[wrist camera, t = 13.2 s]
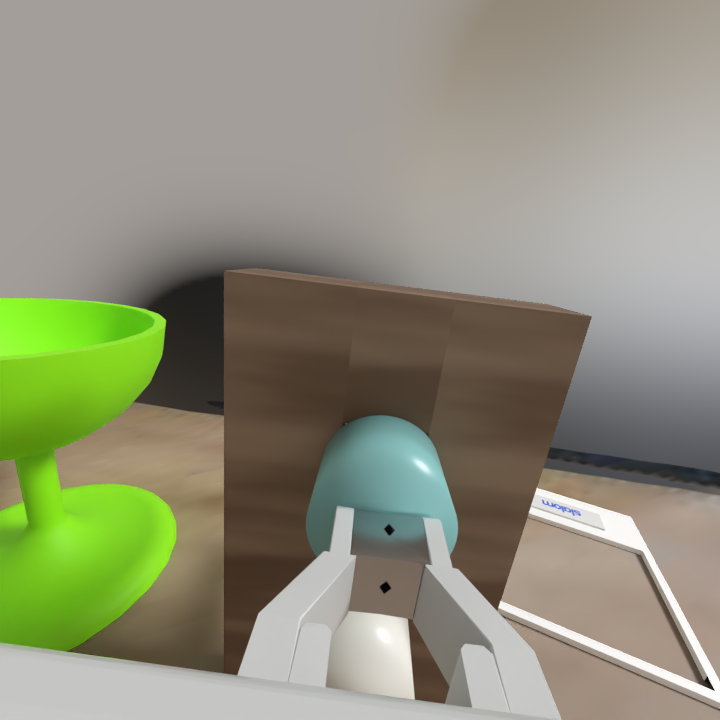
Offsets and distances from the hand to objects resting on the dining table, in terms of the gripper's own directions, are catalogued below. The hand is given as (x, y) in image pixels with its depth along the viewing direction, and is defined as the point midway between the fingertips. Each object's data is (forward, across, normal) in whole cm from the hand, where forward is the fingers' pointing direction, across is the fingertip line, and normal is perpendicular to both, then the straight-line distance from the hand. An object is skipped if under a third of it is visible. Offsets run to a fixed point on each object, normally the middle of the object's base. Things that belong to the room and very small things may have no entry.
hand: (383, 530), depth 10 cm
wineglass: (+11, +22, +17) cm, 30 cm away
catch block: (+5, 0, +16) cm, 17 cm away
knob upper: (+6, 0, +2) cm, 7 cm away
